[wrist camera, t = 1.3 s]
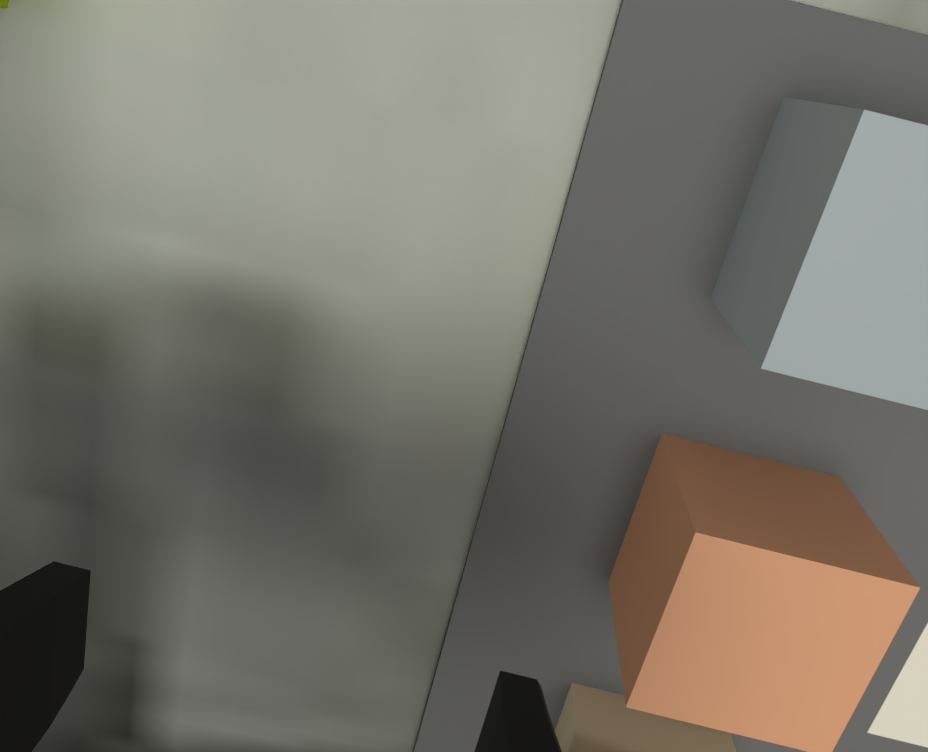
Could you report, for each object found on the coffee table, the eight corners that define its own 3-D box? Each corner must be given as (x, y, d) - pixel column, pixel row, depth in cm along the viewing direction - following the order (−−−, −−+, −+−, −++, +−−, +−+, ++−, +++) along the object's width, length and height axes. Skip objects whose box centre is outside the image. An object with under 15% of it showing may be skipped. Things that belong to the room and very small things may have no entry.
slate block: (900, 346, 19) (1006, 429, 15) (709, 299, 19) (760, 368, 14) (992, 149, 17) (1140, 179, 13) (782, 97, 17) (864, 109, 13)
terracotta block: (772, 622, 22) (829, 756, 18) (608, 582, 22) (625, 707, 17) (839, 477, 20) (920, 587, 16) (661, 433, 20) (695, 532, 16)
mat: (1079, 964, 26) (1085, 975, 25) (399, 800, 25) (398, 808, 25) (1668, 224, 17) (1688, 227, 17) (632, -38, 17) (634, -40, 16)
